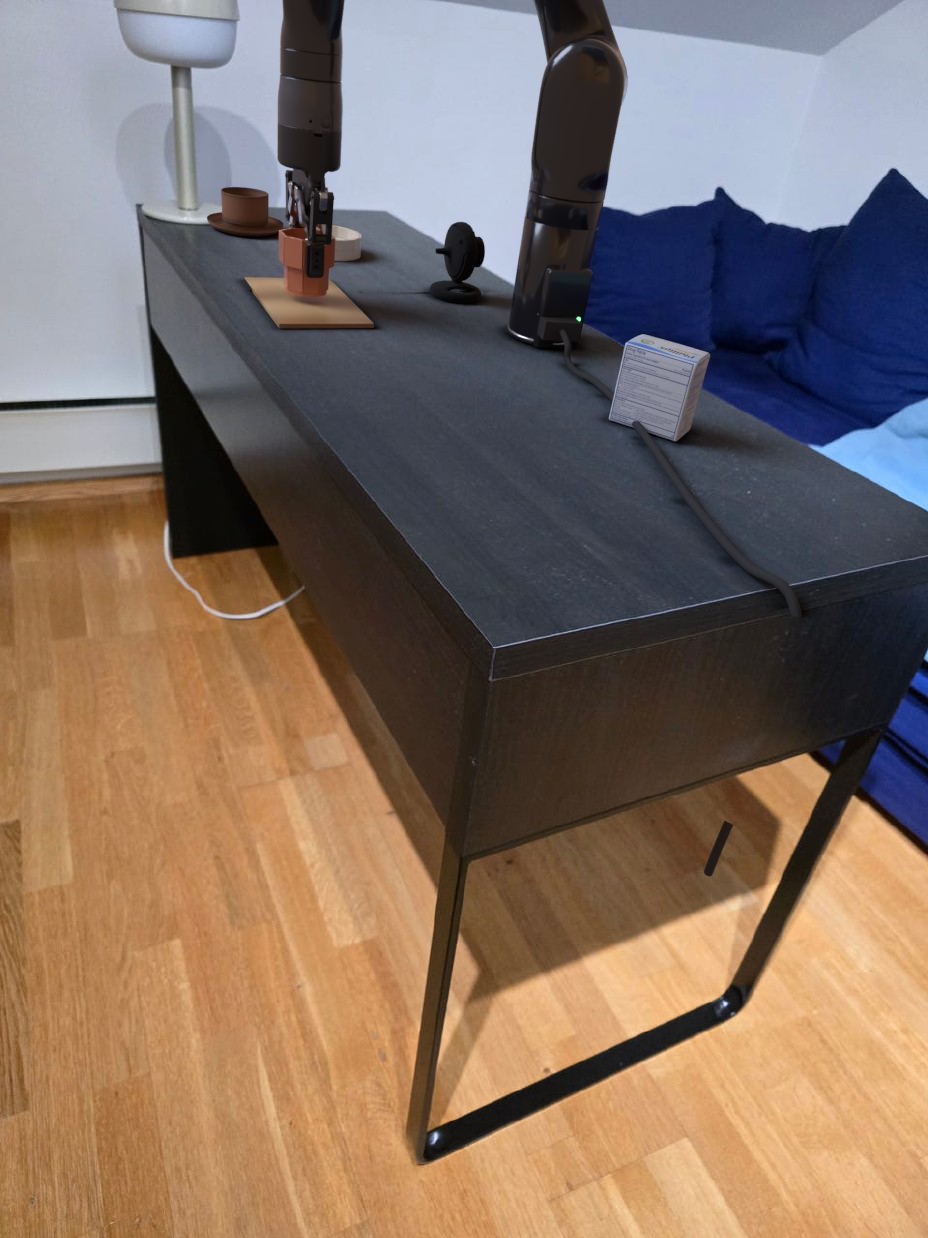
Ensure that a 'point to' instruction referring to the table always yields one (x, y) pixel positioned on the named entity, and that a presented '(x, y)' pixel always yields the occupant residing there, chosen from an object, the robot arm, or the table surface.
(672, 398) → the medicine box
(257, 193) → the cup and saucer
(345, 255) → the cream bowl
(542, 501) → the table surface
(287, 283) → the terracotta plant pot
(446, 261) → the webcam
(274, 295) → the oak mat
